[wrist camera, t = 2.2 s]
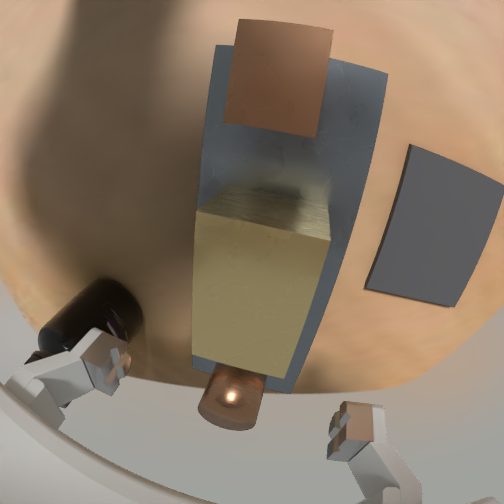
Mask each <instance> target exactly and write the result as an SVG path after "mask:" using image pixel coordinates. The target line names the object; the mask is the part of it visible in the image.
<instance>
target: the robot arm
mask: <svg viewBox="0 0 504 504" xmlns="http://www.w3.org/2000/svg"><path fill="white" fill-rule="evenodd" d="M127 350H128V344H127V342H126V341H123V340H121V339H119V338H117V337H114V336H112V335H110V334H108V333H106V332H104V331H102V330H99V329H97V328H93V329H91V330H90V331H89V332H88V333H87V334H86V335H85V336H84V337H83V338H82V339H81V340H80V341H79V343H78V344H77V345H76V346H75V347H74V348H73V349H72V350H71V351H70V352H68V351H65V352H62V353H59V354H56V355H53V356H50V357H47V358H44V359H41V360H38V361H35V362H32V363H28V364H25V365H22V366H21V367H20V368H19V369H18V370H17V371H16V372H15V374H14V375H13V376H12V377H11V378H10V379H9V380H8V381H7V382H6V384H5V385H3V384H2V383H1V382H0V504H217V503H213V502H209V501H206V500H203V499H199V498H196V497H193V496H190V495H187V494H184V493H181V492H178V491H176V490H173V489H170V488H167V487H165V486H162V485H160V484H157V483H155V482H153V481H150V480H148V479H146V478H143V477H141V476H139V475H137V474H134V473H132V472H130V471H128V470H126V469H124V468H122V467H120V466H118V465H116V464H114V463H112V462H110V461H108V460H106V459H105V458H103V457H101V456H99V455H98V454H96V453H94V452H92V451H91V450H89V449H87V448H86V447H84V446H82V445H81V444H79V443H78V442H76V441H74V440H73V439H71V438H70V437H68V436H67V435H65V434H64V433H62V432H61V431H59V430H58V428H59V427H60V425H61V424H62V422H63V421H64V420H65V416H64V414H63V413H62V411H61V410H60V409H59V407H60V406H62V405H64V404H66V403H68V402H70V401H72V400H74V399H76V398H78V397H80V396H82V395H84V394H86V393H88V392H90V391H91V390H93V389H94V388H95V389H97V390H99V391H101V392H103V393H105V394H108V395H110V396H112V395H113V393H114V392H115V391H116V389H117V388H118V386H119V379H121V378H123V377H125V376H126V375H127V373H128V372H129V369H130V366H131V357H130V355H129V354H128V352H127ZM329 436H330V437H331V439H332V440H331V441H330V443H329V444H328V450H327V460H335V461H345V462H348V465H349V467H350V469H351V471H352V473H353V475H354V477H355V479H356V480H357V483H358V485H359V487H360V488H361V491H362V492H363V494H364V496H365V498H366V499H365V500H363V501H361V502H359V503H357V504H422V489H421V483H420V482H419V480H418V479H417V478H416V476H415V475H414V474H413V472H412V471H411V470H410V468H409V467H408V466H407V464H406V463H405V462H404V460H403V459H402V457H401V456H400V455H399V453H398V452H397V451H396V449H395V448H394V447H393V445H392V444H391V443H387V433H386V421H385V411H384V407H383V406H382V405H374V404H367V403H358V402H348V401H344V402H343V403H342V404H341V405H340V411H338V412H336V413H335V414H334V416H333V417H332V420H331V422H330V427H329ZM468 504H500V503H499V502H498V501H497V500H496V499H495V498H493V497H487V498H484V499H481V500H478V501H474V502H471V503H468Z"/></svg>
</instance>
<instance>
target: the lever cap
mask: <svg viewBox="0 0 504 504" xmlns="http://www.w3.org/2000/svg"><path fill="white" fill-rule="evenodd" d="M330 242H331V237H330V225H329V213H328V206H326V205H321V204H317V203H313V202H309V201H304V200H300V199H295V198H291V197H286V196H282V195H277V194H272V193H267V192H262V191H257V190H252V189H247V188H242V187H237V186H232V185H226V186H225V187H224V188H223V189H222V190H220V191H219V192H218V193H217V194H216V195H214V196H213V197H212V198H211V199H210V200H208V201H207V202H206V203H205V204H204V205H203V206H201V207H200V208H199V209H198V210H197V211H196V219H195V236H194V256H193V283H192V354H193V355H196V356H199V357H203V358H206V359H209V360H213V361H216V362H219V363H223V364H226V365H230V366H234V367H237V368H241V369H245V370H249V371H253V372H257V373H261V374H265V375H269V376H274V377H278V378H283V379H284V378H285V375H286V372H287V370H288V367H289V365H290V362H291V359H292V357H293V354H294V351H295V349H296V346H297V343H298V340H299V338H300V335H301V332H302V329H303V326H304V324H305V321H306V318H307V315H308V312H309V309H310V306H311V303H312V300H313V297H314V294H315V291H316V288H317V285H318V281H319V278H320V275H321V272H322V269H323V265H324V262H325V259H326V255H327V252H328V249H329V245H330Z"/></svg>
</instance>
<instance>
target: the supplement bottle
mask: <svg viewBox="0 0 504 504" xmlns="http://www.w3.org/2000/svg"><path fill="white" fill-rule="evenodd" d="M141 324H142V315H141V311H140V308H139V306H138V304H137V302H136V301H135V299H134V298H133V296H132V295H131V294H130V293H129V292H128V291H127V290H126V289H125V288H124V287H123V286H121V285H120V284H118V283H116V282H114V281H112V280H109V279H97V280H94V281H93V282H92V283H90V284H89V285H88V286H87V287H85V288H84V289H83V290H82V291H81V292H80V293H79V294H78V295H76V296H75V297H74V298H73V299H72V300H71V301H70V302H69V303H68V304H66V305H65V306H64V307H63V308H62V309H61V310H60V311H59V312H58V313H57V314H56V315H55V316H54V317H53V318H51V319H50V320H49V321H48V322H47V323H46V324H45V325H44V326H43V327H42V329H41V330H40V332H39V336H38V345H39V349H40V351H35V352H34V353H33V354H32V355H31V357H30V358H29V359H28V360H27V361H26V362H25V364H28V363H32V362H35V361H38V360H41V359H44V358H47V357H50V356H53V355H56V354H59V353H62V352H65V351H68V352H70V351H71V350H72V349H73V348H74V347H75V346H76V345H77V344H78V343H79V341H80V340H81V339H82V338H83V337H84V336H85V335H86V334H87V333H88V332H89V331H90V330H91V329H93V328H97V329H99V330H102V331H104V332H106V333H108V334H110V335H112V336H114V337H117V338H119V339H121V340H123V341H126V342H127V344H128V345H129V343H130V342H131V341H132V339H133V338H134V337H135V335H136V334H137V333H138V331H139V330H140V328H141ZM25 364H24V365H25ZM70 402H71V401H70ZM70 402H68V403H66V404H64V405H62V406H60V407H62V408H66V407H67V406H68V405H69V404H70Z"/></svg>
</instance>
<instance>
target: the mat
mask: <svg viewBox="0 0 504 504" xmlns="http://www.w3.org/2000/svg"><path fill="white" fill-rule="evenodd" d="M503 195H504V185H502V184H500V183H499V182H497V181H495V180H493V179H491V178H489V177H487V176H485V175H483V174H481V173H479V172H477V171H474V170H472V169H470V168H468V167H466V166H464V165H461V164H459V163H457V162H455V161H452V160H450V159H447V158H445V157H443V156H440V155H438V154H435V153H433V152H430V151H427V150H425V149H422V148H419V147H417V146H414V145H411V144H409V148H408V152H407V156H406V160H405V164H404V168H403V172H402V176H401V179H400V183H399V186H398V190H397V193H396V197H395V200H394V203H393V207H392V210H391V213H390V216H389V219H388V222H387V225H386V228H385V231H384V234H383V237H382V240H381V243H380V246H379V248H378V251H377V254H376V257H375V259H374V262H373V265H372V267H371V270H370V272H369V275H368V278H367V280H366V283H365V284H366V288H369V289H373V290H378V291H382V292H387V293H391V294H396V295H400V296H405V297H409V298H414V299H418V300H423V301H427V302H432V303H437V304H441V305H446V306H450V307H455V306H456V304H457V302H458V300H459V298H460V297H461V295H462V293H463V291H464V289H465V287H466V285H467V283H468V281H469V279H470V277H471V275H472V273H473V271H474V269H475V267H476V265H477V263H478V261H479V258H480V256H481V254H482V252H483V249H484V247H485V245H486V242H487V240H488V237H489V235H490V232H491V230H492V227H493V224H494V222H495V219H496V216H497V213H498V210H499V208H500V205H501V201H502V198H503Z"/></svg>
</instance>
